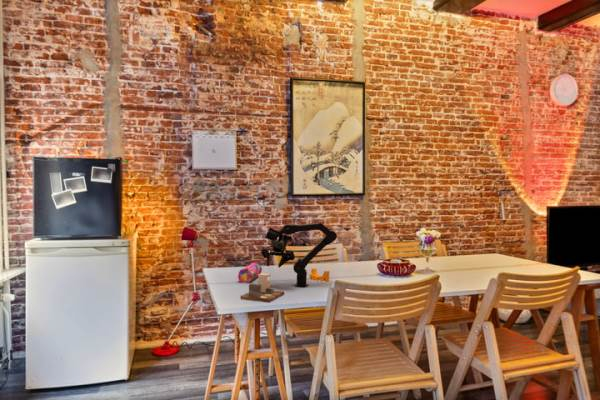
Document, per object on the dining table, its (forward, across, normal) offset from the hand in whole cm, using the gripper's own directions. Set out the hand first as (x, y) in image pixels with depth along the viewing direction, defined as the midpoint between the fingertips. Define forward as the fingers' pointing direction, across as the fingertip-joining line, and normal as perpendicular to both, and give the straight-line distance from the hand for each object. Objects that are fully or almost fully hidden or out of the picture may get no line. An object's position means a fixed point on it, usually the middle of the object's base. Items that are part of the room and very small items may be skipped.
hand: (273, 266), depth 235 cm
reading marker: (+17, +4, -2) cm, 18 cm away
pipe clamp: (-16, +14, +35) cm, 41 cm away
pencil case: (-4, -24, +23) cm, 34 cm away
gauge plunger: (+15, +2, +1) cm, 15 cm away
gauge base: (+19, 0, 0) cm, 19 cm away
